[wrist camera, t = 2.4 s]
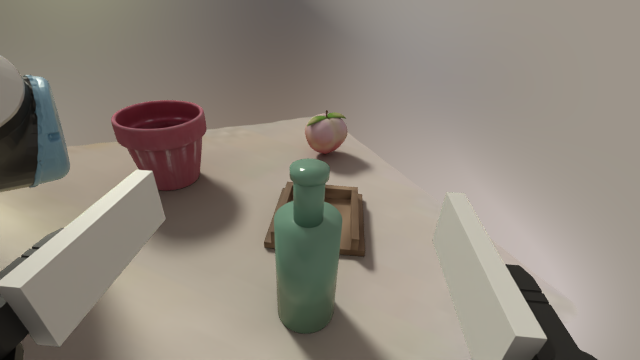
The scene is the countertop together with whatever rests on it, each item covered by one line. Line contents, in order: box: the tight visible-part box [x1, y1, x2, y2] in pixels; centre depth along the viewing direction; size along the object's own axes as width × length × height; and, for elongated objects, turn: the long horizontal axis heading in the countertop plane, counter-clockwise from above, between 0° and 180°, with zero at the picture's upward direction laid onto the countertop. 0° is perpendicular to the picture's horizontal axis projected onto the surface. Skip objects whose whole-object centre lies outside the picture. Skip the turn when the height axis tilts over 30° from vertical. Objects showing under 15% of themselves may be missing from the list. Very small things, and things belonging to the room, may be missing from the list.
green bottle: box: [274, 159, 342, 334], centre depth 31 cm, size 6×6×18 cm
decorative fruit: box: [305, 111, 347, 154], centre depth 68 cm, size 9×8×10 cm
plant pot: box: [111, 100, 206, 191], centre depth 56 cm, size 14×14×13 cm
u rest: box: [264, 182, 365, 256], centre depth 49 cm, size 14×14×3 cm
